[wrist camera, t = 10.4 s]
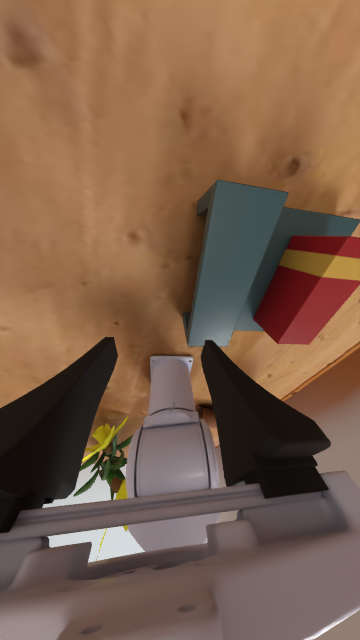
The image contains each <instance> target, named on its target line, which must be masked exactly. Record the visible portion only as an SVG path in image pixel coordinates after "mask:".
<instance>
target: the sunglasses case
mask: <svg viewBox="0 0 360 640" xmlns="http://www.w3.org/2000/svg"><path fill="white" fill-rule="evenodd" d="M195 410H196V412H198V416H199V419H204V421H205V422H206V423H207V424H208V425H209V427H211V428H212V429H217V424H216V419H215V413H214V409H208V408H202V407H201V406H199V405H198V406H197V407H196V408H195Z"/></svg>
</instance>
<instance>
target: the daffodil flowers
mask: <svg viewBox="0 0 360 640" xmlns="http://www.w3.org/2000/svg"><path fill="white" fill-rule="evenodd" d="M128 416H129V415H128ZM127 418H128V417H127ZM127 418H126V419H125V420H124V421H123V422H122V423H121V425H120V426H119V427H118V428H117V429H116V430H115V431H114V426H113V427H112V429H110V427H109V425H108V424H107V423H106V424H105V427H104V426H102V425H101V426H100V427H99V428H97V430H95V432H93V434H92V436H93V437H94V438H95V439H96V440H97V441H98V442H99V443H98V444H96V445H94V446H92V447H90V448H86V449H85V451H93V452H92V453H91V454H89V455H88V456H86V457H85V458H84V459H82V461H85V460H87V459H88V458H89V457H90V456H92V455H93V454H94V453H95V454H94V455H93V456H92V457H91V458H90V459H89V460H87V461H86V462H85V463H84V464H83V465H82V466H81V467H80V470H79V471H81V470H83V469H85V468H87V467H88V466H90V465H91V464H93V463H94V462H95V461H96V460H97V459H98V457H99V451H101V450H103V453H102V455H101V457H100V458H99V460H98V461H97V463H96V464H95V466H94V467H93V469H92V470H91V472H93V471H94V470H95V469H96V468H97V467H98V470H97V471H96V473H95V474H94V476H93V477H92V478H91V479H90V480H89V481H88V482H87V483H86V484H85V485H84V486H82V487H81V488H80V489H79V490H78V491H77V492H76V493H75V494H74V496H77V495H79V494H81V493H83V492H85V491H86V490H88V489H89V488H90V487H91V486H92V484H93V483H94V482H95V480H96V477H97V476H98V473H99V475H100V477H101V480H107V482H108V484H109V486H110V490H111V500H113V498H114V493H117V494H116V499H115V500H118V499H127V489H126V479H125V477H124V475H123V473H122V472H121V470H120V469H119V468H121V467H123V466H125V464H127V458H124V452H123V451H122V450H121V449H122V448H124V447H126V446H127V445H129V444H130V443H131V440H132V437H133V435H134V434H133V435H132V436H131V437H129V438H128V439H127V440H125V441H124V442H122V443H120V444H118V445H116V444H117V432H118V431H119V430H120V429H121V427H122V426H123V425H124V424H125V422H126V420H127ZM113 432H114V433H113ZM114 436H115V437H114ZM113 437H114V440H113V443H112V444H111V443H110V442H111V440H112V439H113ZM117 450H119V451H120V452H121V456H120V457H116V456H115V455H116V451H117ZM111 453H112V454H111ZM105 456H107V457H109V459H107V460H105V462H102V461H103V459H104V457H105ZM100 466H101V467H102V470H100V471H99V469H100ZM123 527H124V529H125V531H127V529H128V525H125V526H123ZM106 530H107V529H106ZM106 530H105V532H106ZM104 536H105V533H104ZM104 536H103V538H102V541H103V539H104ZM102 541H101V544H100V548H101V545H102ZM99 551H100V550H99Z"/></svg>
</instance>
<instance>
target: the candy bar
mask: <svg viewBox="0 0 360 640" xmlns="http://www.w3.org/2000/svg"><path fill="white" fill-rule="evenodd" d="M359 285H360V238H358V237H351V236H292V238H291V240H290V242H289V244H288V246H287V248H286V250H285V252H284V254H283V256H282V258H281V260H280V262H279V264H278V267H277V270H276V272H275V274H274V276H273V278H272V280H271V282H270V284H269V287H268V289H267V291H266V293H265V295H264V297H263V299H262V301H261V303H260V306H259V308H258V310H257V312H256V314H255V316H254V318H253V320H254V321H255V322H256V323H257V324H258V325H259V326H260V327H261V328H262V329H263V330H264V331H265V332H266V333H267V334H268V335H269V336H270V337H271V338H272V339H273V340H274V341H275V342H276V343H277V344H306V345H309V344H310V343H311V342H312V340H313V339H314V338H315V337H316V336H317V334H318V333H319V332H320V331H321V330H322V329H323V327H324V326H325V325H326V324H327V323H328V321H329V320H330V319H331V318H332V317H333V316H334V314H335V313H336V312H337V311H338V310H339V308H340V307H341V306H342V305H343V304H344V302H345V301H346V300H347V299H348V298H349V297H350V295H351V294H352V293H353V292H354V291H355V289H356V288H357V287H358V286H359Z"/></svg>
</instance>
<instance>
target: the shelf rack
mask: <svg viewBox="0 0 360 640" xmlns="http://www.w3.org/2000/svg"><path fill="white" fill-rule="evenodd" d="M287 196H288V192H284V191H279V190H273V189H268V188H262V187H256V186H251V185H245V184H240V183H234V182H229V181H223V180H217V181H216V182H215V183H214V184H213V185H212V186H211V187H210V188H209V189H208V190H207V192H206V193H205V194H204V195H203V196H202V197H201V198H200V199H199V201H198V207H197V215H198V216H205V217H207V219H206V225H205V231H204V237H203V243H202V249H201V255H200V261H199V267H198V273H197V279H196V284H195V290H194V296H193V302H192V308H191V313H183V324H184V329H185V335H186V341H187V345H188V346H204V343H205V340H213V341H214V342H215V343H216V344H217V345H218V346H220V347H227V346H228V344H229V341H230V339H231V336H232V334H233V331H234V330H244V331H264V330H263V329H262V328H261V327H260V326H259V325H258V324H257V323H256V322H255V321H254V320H253V318H254V316H255V314H256V312H257V310H258V308H259V306H260V303H261V301H262V299H263V297H264V295H265V293H266V291H267V289H268V287H269V284H270V282H271V280H272V278H273V276H274V274H275V272H276V270H277V267H278V264H279V262H280V260H281V258H282V256H283V254H284V252H285V250H286V248H287V246H288V244H289V242H290V240H291V238H292V236H351V235H352V233H353V232H354V230H355V229H356V227H357V226H358V224H359V223H360V220H359V219H353V218H347V217H341V216H335V215H329V214H323V213H317V212H311V211H305V210H299V209H293V208H287V207H283V206H284V204H285V201H286V199H287Z"/></svg>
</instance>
